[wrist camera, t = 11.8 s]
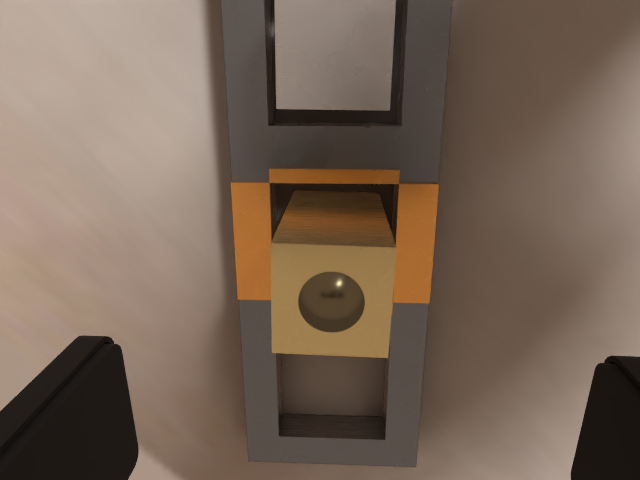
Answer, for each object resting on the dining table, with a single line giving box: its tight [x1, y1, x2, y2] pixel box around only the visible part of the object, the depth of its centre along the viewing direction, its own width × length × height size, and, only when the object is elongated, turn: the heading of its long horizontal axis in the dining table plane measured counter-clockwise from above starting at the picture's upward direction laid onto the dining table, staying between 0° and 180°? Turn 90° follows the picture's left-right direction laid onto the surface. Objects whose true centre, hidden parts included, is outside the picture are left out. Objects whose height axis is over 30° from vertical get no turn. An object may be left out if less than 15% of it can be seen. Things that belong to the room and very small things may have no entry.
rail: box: [221, 0, 452, 467], centre depth 22 cm, size 9×25×2 cm, turn 0°
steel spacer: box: [274, 0, 396, 111], centre depth 18 cm, size 4×4×5 cm
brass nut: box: [271, 190, 397, 358], centre depth 19 cm, size 4×4×8 cm
